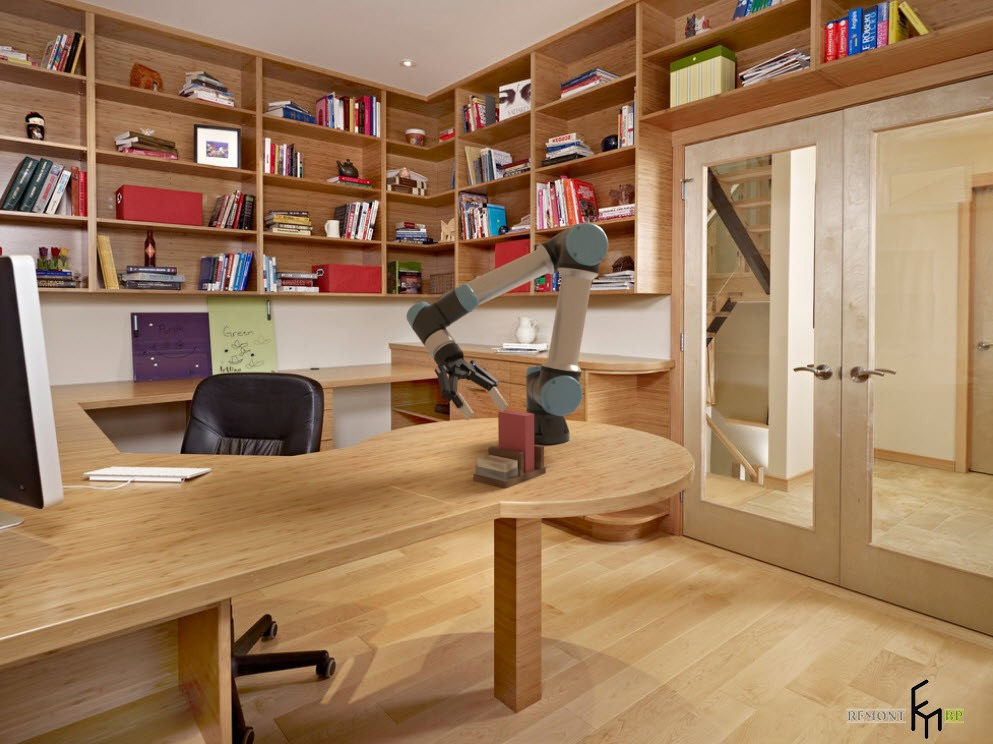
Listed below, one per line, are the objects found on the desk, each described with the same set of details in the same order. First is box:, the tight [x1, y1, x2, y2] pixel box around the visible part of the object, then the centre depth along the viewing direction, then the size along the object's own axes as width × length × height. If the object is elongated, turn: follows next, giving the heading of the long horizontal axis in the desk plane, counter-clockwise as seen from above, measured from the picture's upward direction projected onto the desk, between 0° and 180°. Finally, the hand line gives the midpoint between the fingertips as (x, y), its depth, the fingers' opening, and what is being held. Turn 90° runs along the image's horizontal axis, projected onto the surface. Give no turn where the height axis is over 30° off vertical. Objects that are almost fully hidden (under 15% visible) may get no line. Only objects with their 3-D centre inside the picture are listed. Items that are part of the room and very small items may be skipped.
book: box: [497, 409, 535, 473], centre depth 153 cm, size 4×9×14 cm, turn 50°
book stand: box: [472, 443, 547, 489], centre depth 152 cm, size 16×10×7 cm, turn 140°
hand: (488, 412), depth 158 cm, fingers open, 13 cm apart
